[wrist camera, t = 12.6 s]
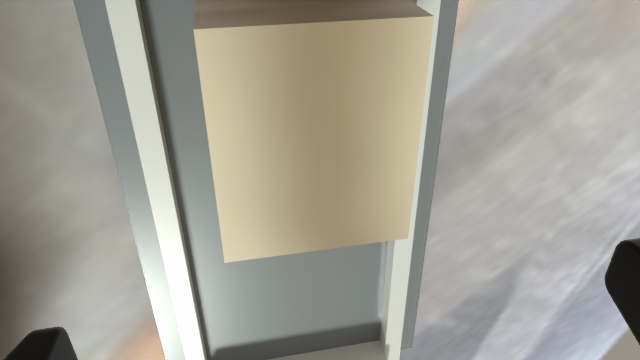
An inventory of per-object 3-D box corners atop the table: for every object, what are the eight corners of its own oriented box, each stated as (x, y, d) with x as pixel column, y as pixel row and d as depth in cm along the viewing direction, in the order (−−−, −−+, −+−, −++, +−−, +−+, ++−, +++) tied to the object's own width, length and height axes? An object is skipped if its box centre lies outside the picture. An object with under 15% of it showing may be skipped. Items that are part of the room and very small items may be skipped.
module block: (217, 152, 18) (224, 263, 13) (195, -26, 15) (193, 29, 10) (352, 139, 19) (408, 238, 14) (359, -32, 16) (433, 15, 11)
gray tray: (174, 368, 25) (169, 464, 21) (62, -84, 14) (11, -65, 10) (404, 329, 27) (439, 410, 23) (454, -94, 16) (536, -80, 12)
